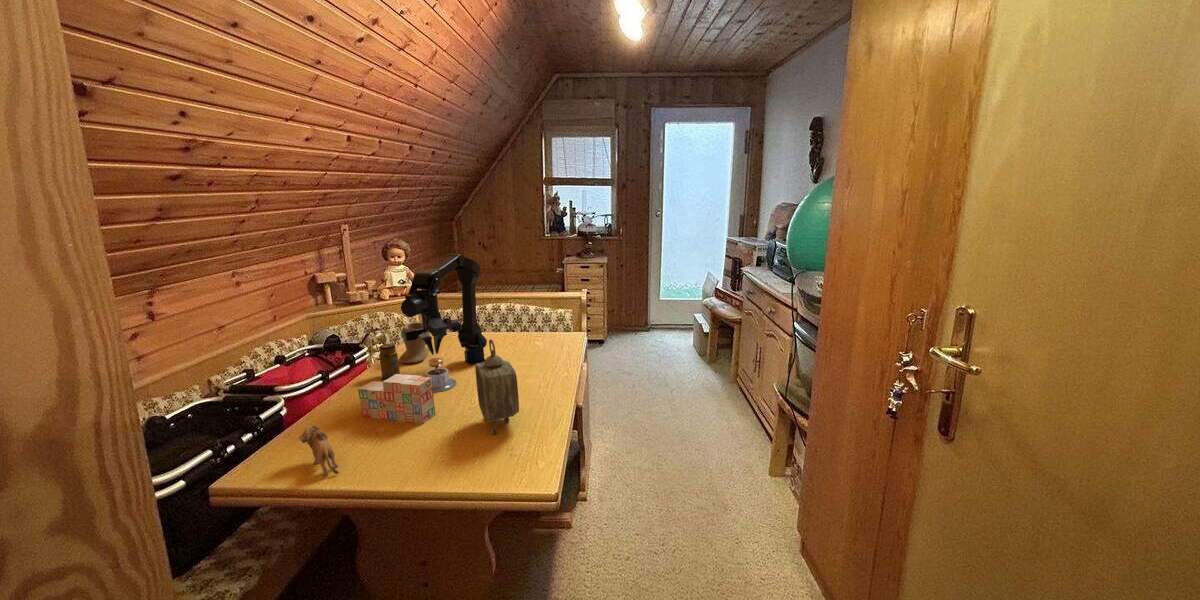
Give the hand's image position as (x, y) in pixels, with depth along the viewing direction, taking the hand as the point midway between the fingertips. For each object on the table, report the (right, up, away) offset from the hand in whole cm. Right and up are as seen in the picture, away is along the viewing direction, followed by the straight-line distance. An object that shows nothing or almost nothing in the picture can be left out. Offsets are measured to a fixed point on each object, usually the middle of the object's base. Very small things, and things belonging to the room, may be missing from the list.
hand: (434, 354), depth 162 cm
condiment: (-20, -10, +12) cm, 25 cm away
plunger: (0, -10, +2) cm, 10 cm away
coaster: (0, -11, +3) cm, 12 cm away
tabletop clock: (+28, -17, -26) cm, 42 cm away
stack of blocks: (-4, -17, -19) cm, 26 cm away
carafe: (-1, -11, +2) cm, 11 cm away
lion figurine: (-12, -23, -44) cm, 51 cm away
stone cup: (-18, -6, +31) cm, 36 cm away
